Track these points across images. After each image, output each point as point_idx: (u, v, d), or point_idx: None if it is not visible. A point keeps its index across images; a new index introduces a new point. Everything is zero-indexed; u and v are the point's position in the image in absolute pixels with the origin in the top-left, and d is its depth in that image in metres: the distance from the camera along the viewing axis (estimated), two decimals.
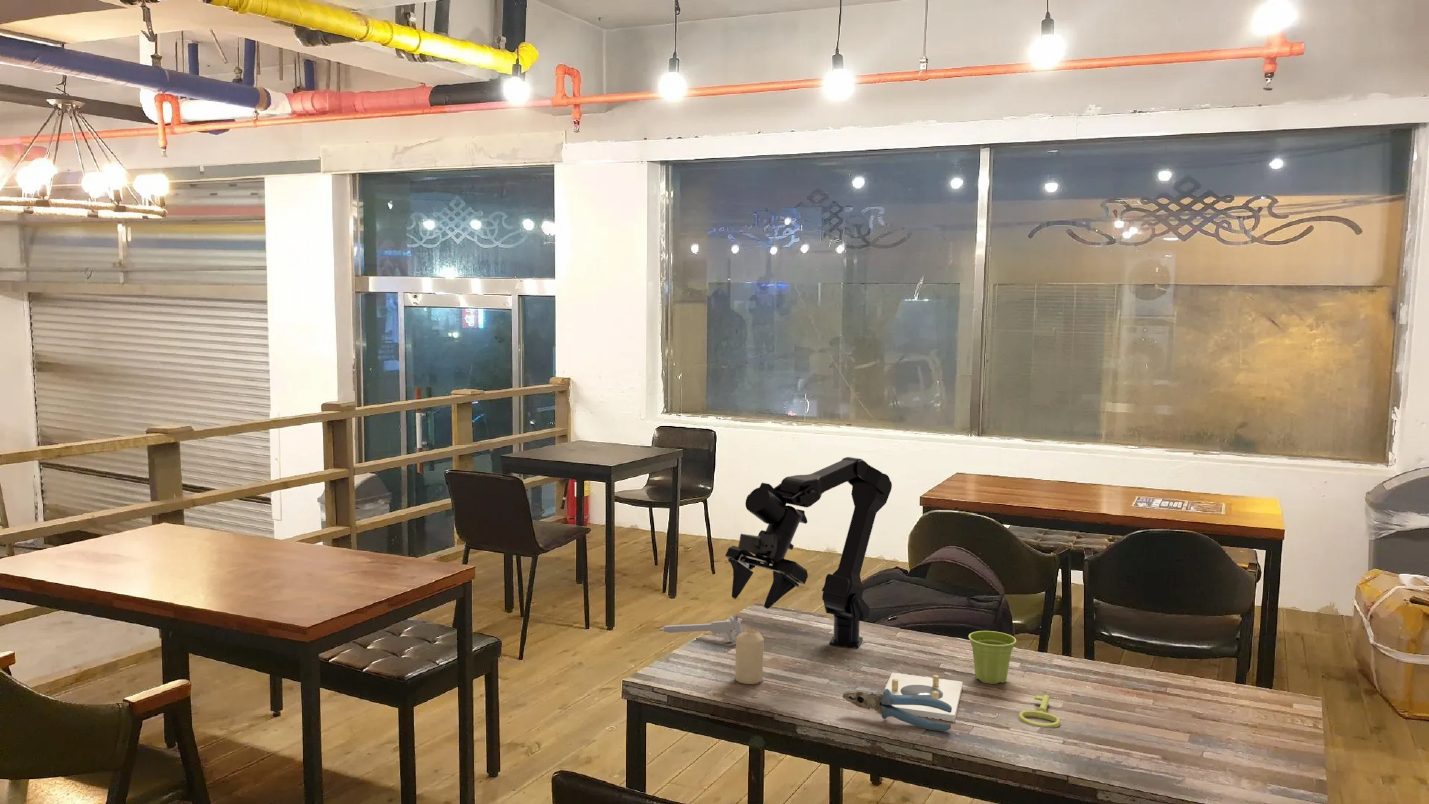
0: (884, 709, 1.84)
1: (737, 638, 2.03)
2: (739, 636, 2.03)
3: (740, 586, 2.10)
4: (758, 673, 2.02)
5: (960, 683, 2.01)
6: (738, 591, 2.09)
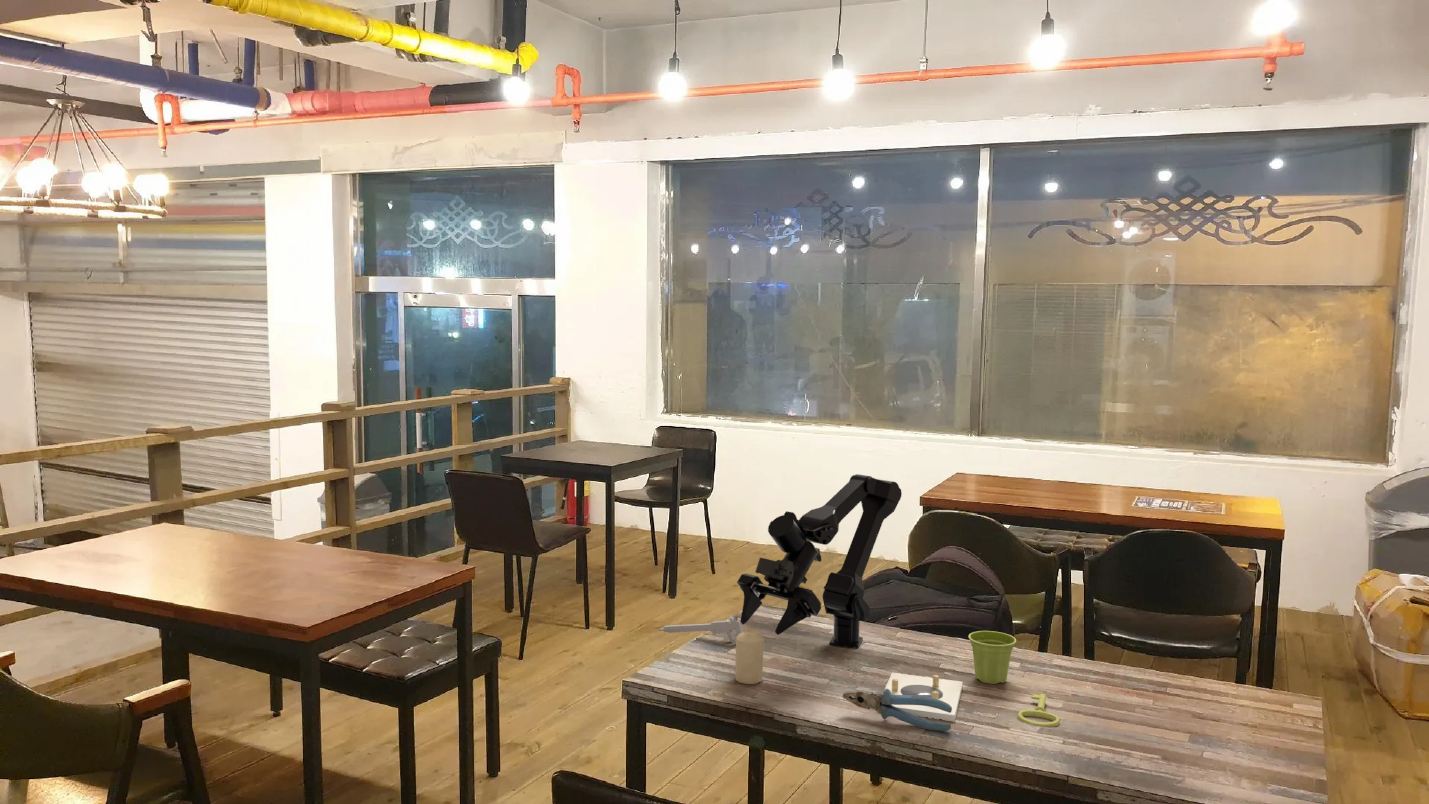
0: (884, 709, 1.84)
1: (737, 638, 2.03)
2: (739, 636, 2.03)
3: (749, 613, 2.10)
4: (758, 673, 2.02)
5: (960, 683, 2.01)
6: (747, 618, 2.09)
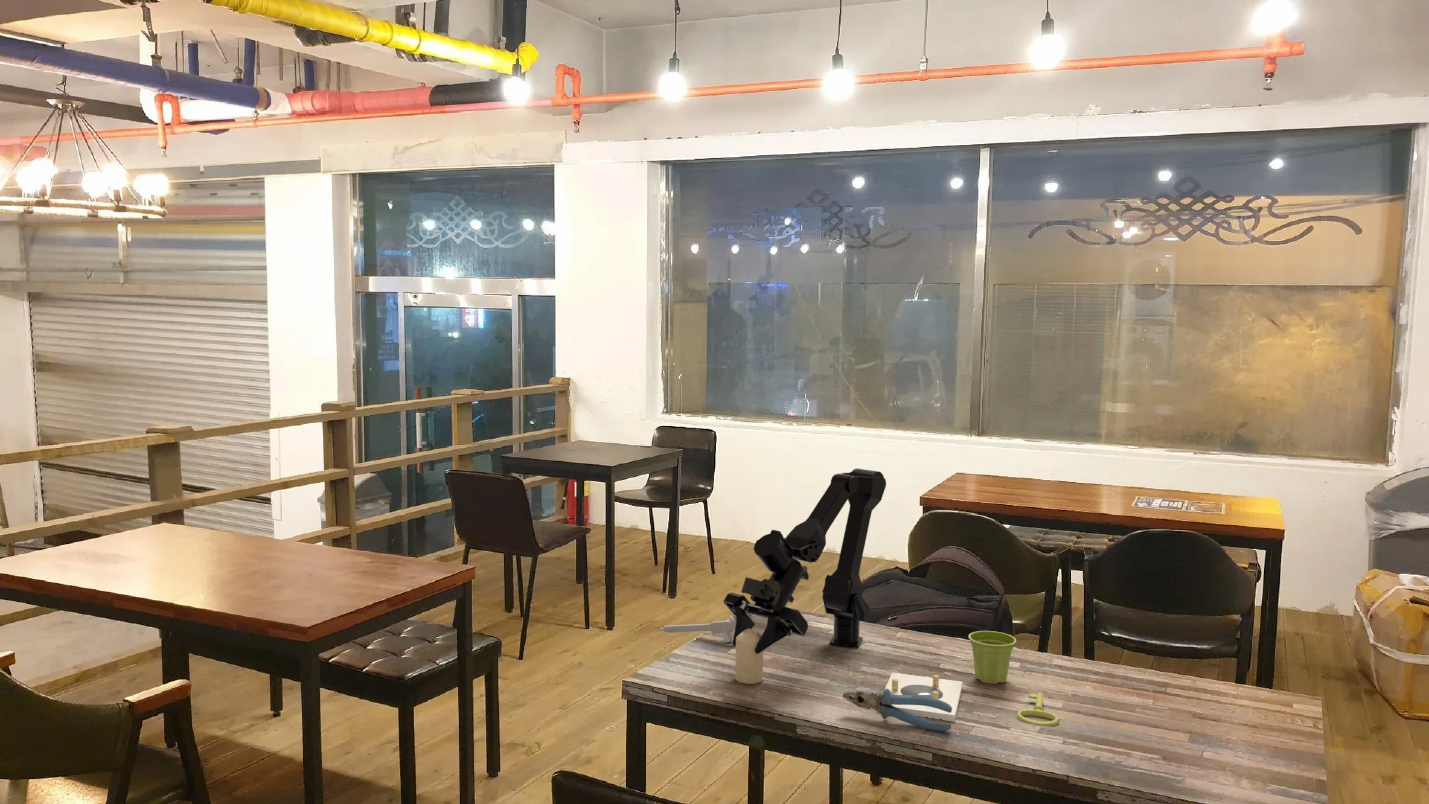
0: (884, 709, 1.84)
1: (737, 638, 2.03)
2: (739, 636, 2.03)
3: None
4: (758, 673, 2.02)
5: (960, 683, 2.01)
6: None
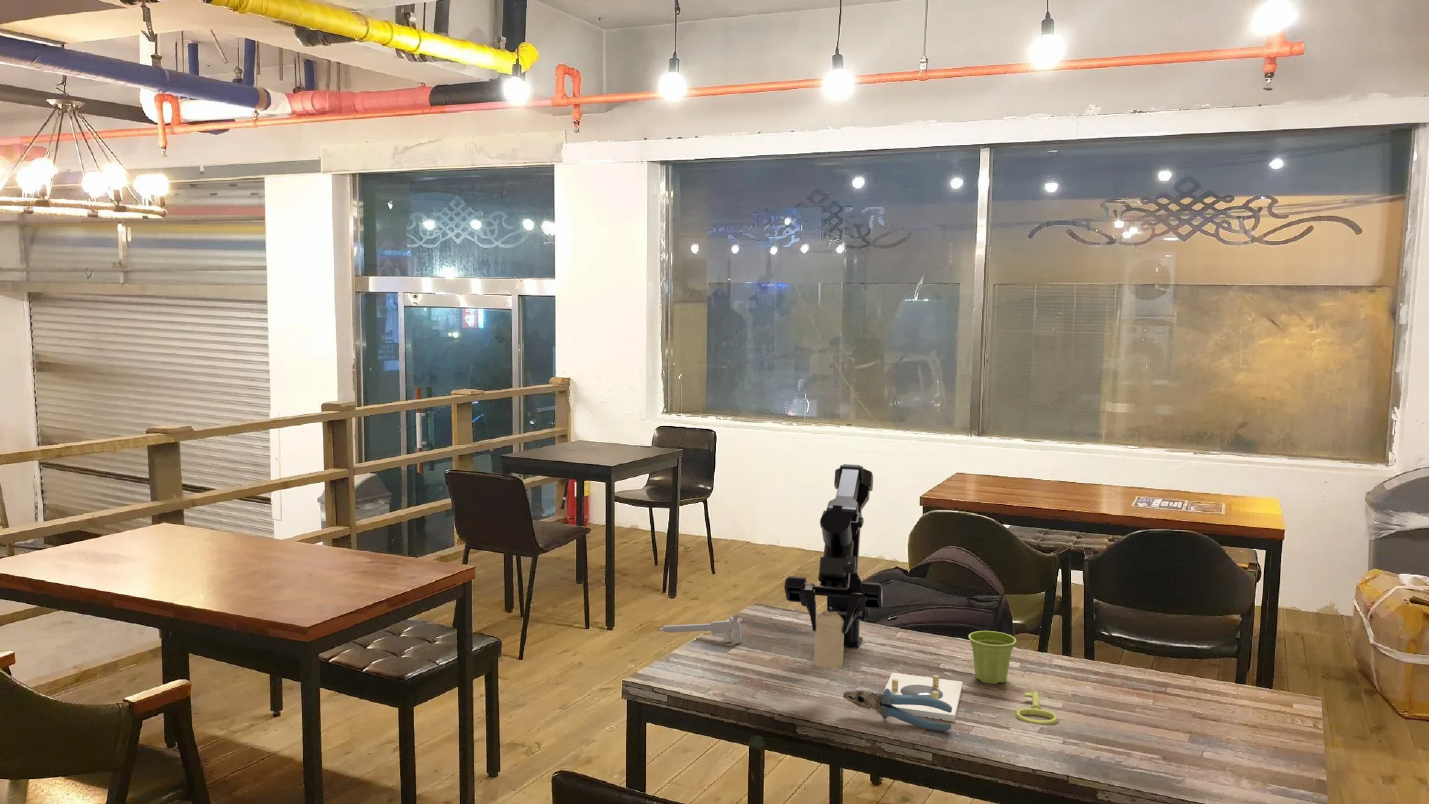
0: (884, 709, 1.84)
1: (821, 622, 1.92)
2: (823, 619, 1.93)
3: (815, 618, 1.96)
4: (842, 655, 1.94)
5: (960, 683, 2.01)
6: None
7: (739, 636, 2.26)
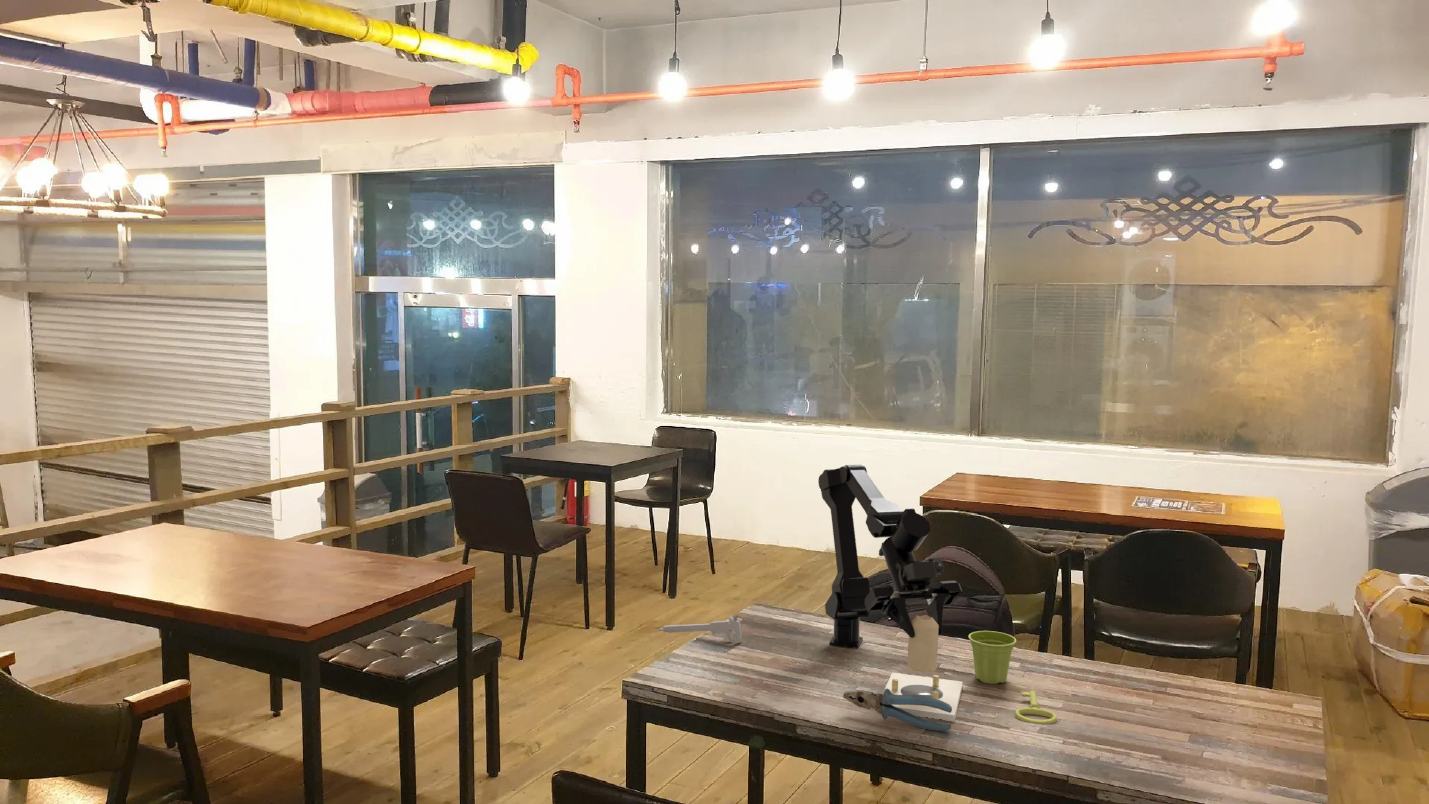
0: (884, 709, 1.84)
1: (923, 627, 1.92)
2: (923, 625, 1.92)
3: None
4: None
5: (960, 683, 2.01)
6: None
7: (739, 636, 2.26)
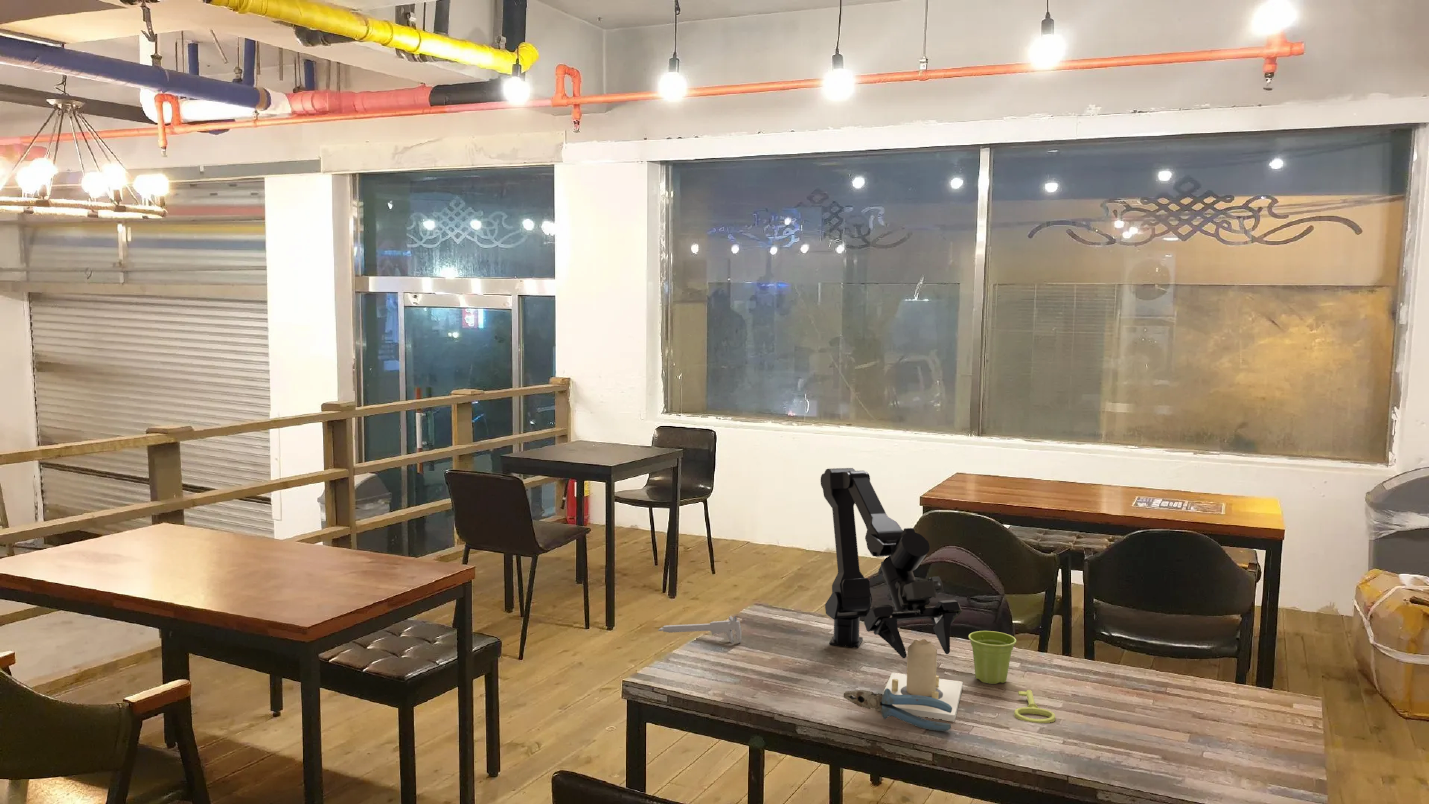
0: (884, 709, 1.84)
1: (921, 652, 1.92)
2: (922, 649, 1.93)
3: None
4: None
5: (960, 683, 2.01)
6: None
7: (739, 636, 2.26)
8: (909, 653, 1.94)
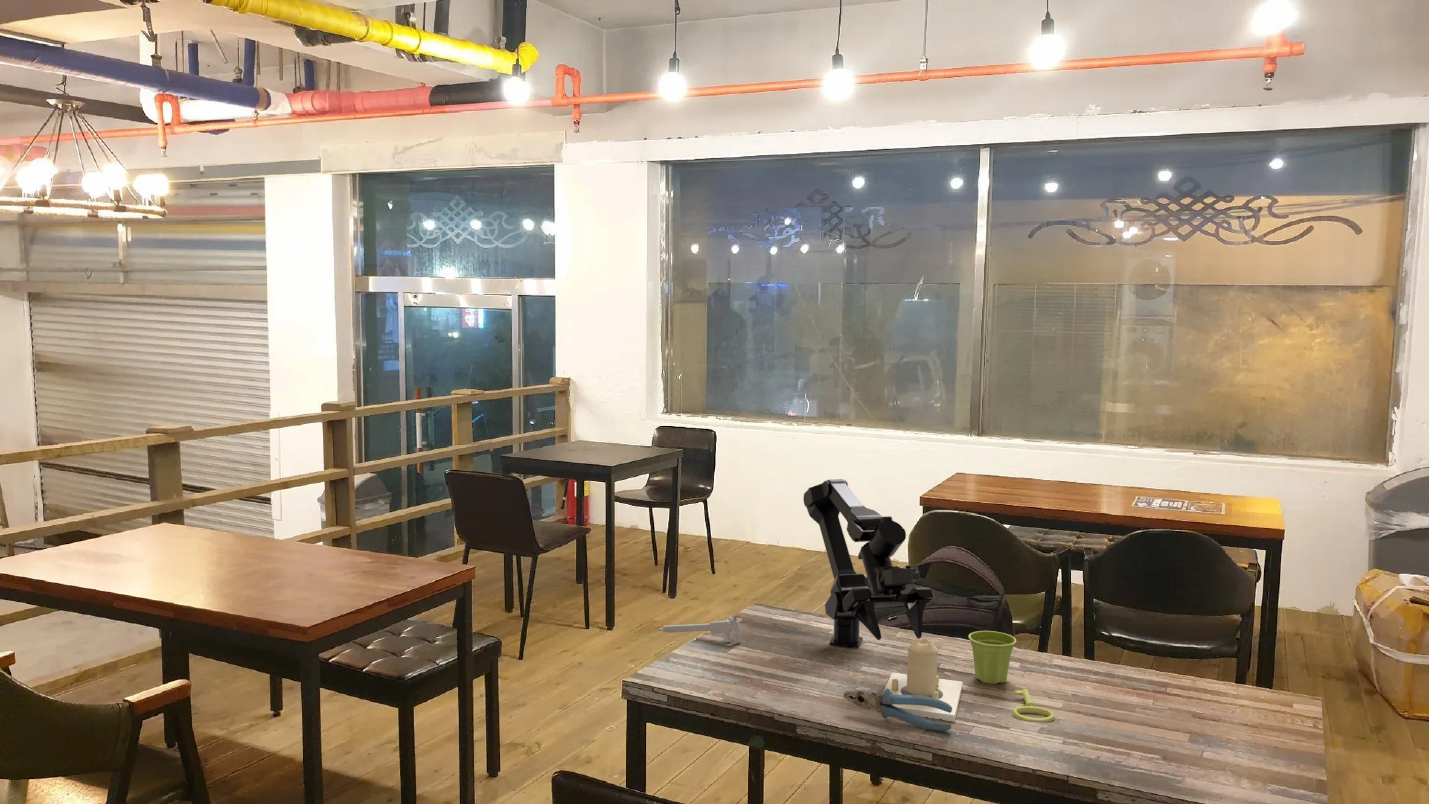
0: (884, 709, 1.84)
1: (922, 652, 1.92)
2: (922, 649, 1.93)
3: None
4: None
5: (960, 683, 2.01)
6: None
7: (738, 636, 2.26)
8: (909, 653, 1.94)
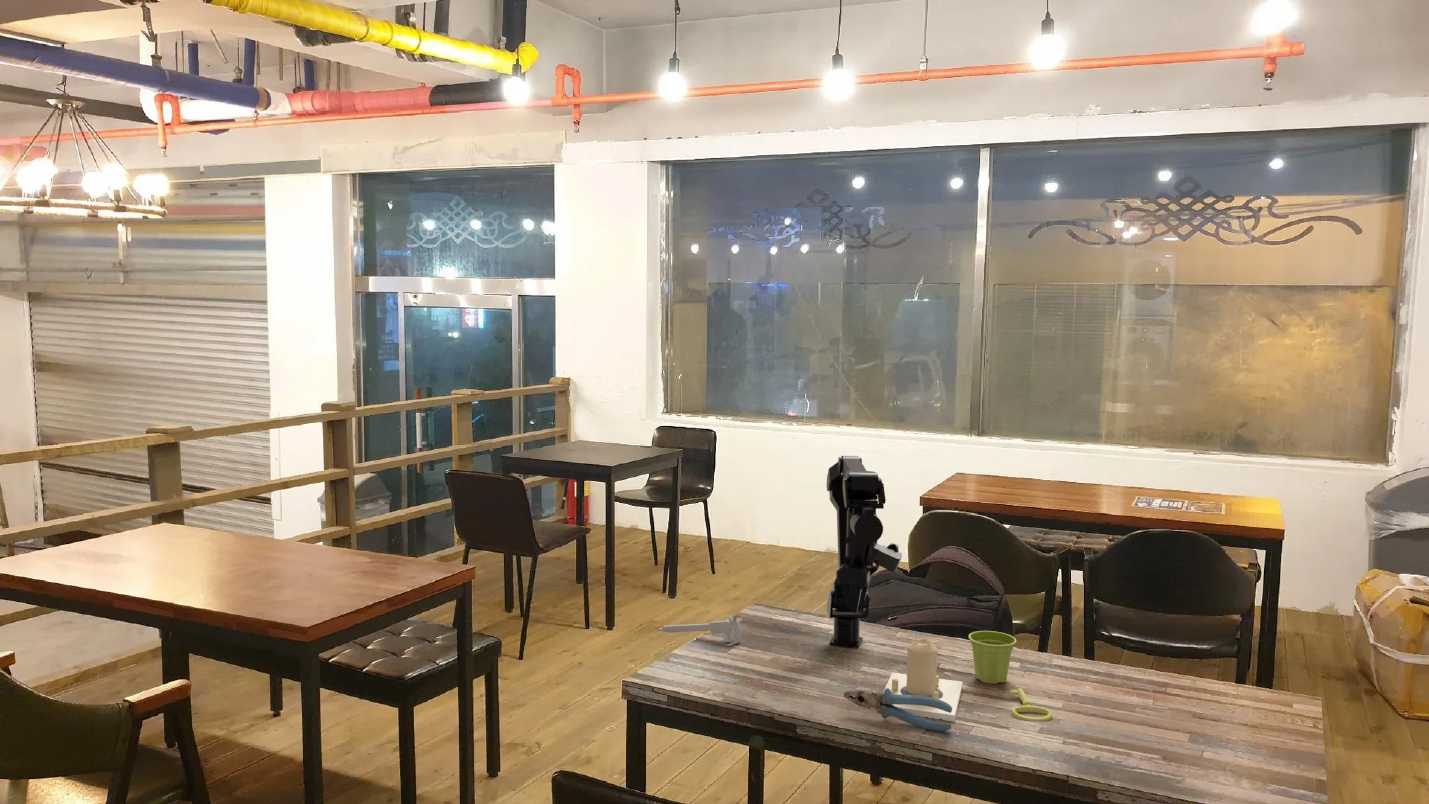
0: (884, 709, 1.84)
1: (921, 651, 1.92)
2: (921, 649, 1.93)
3: None
4: None
5: (960, 683, 2.01)
6: None
7: (738, 636, 2.26)
8: (909, 652, 1.94)
